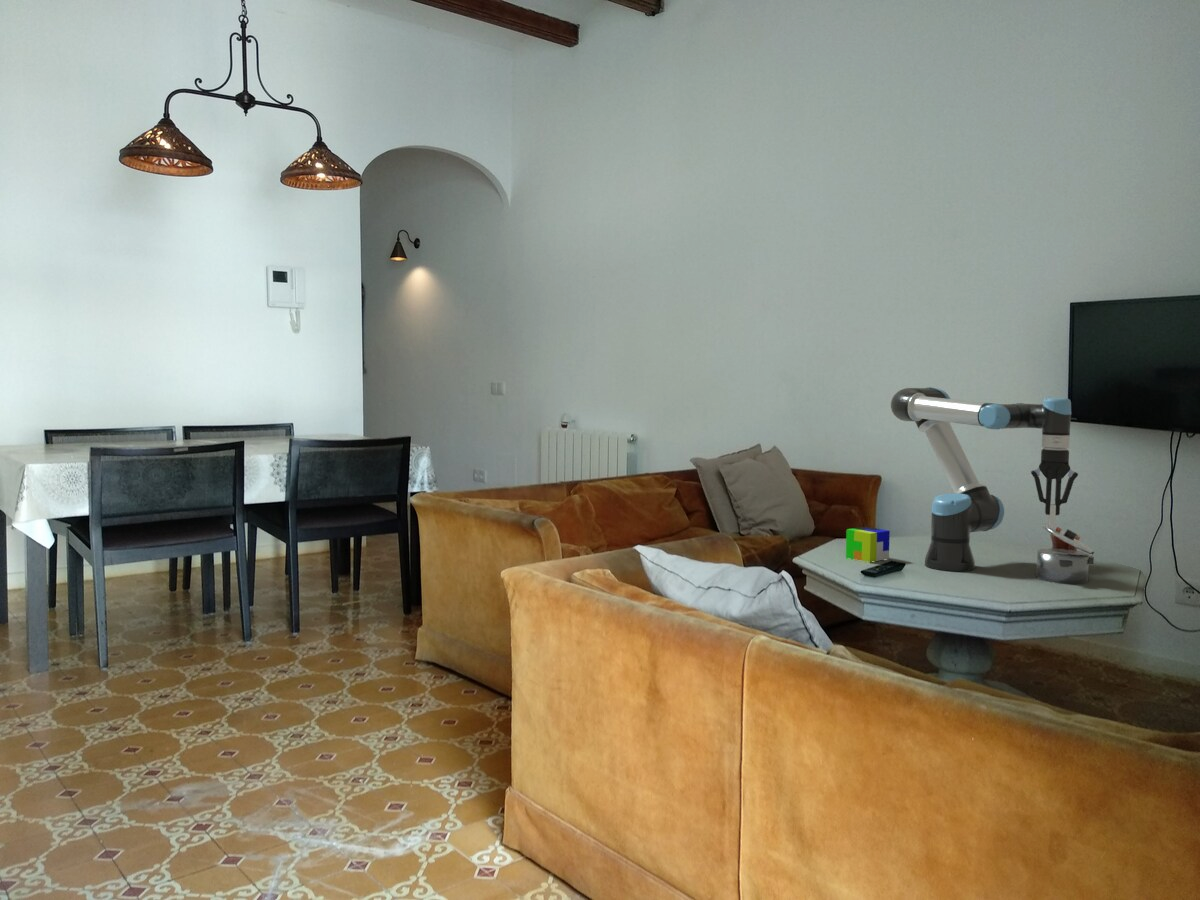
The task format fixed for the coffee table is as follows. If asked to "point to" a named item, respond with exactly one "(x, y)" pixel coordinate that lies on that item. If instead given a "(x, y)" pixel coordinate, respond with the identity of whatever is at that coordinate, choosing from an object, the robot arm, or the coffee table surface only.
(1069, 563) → the pot
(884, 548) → the puzzle toy
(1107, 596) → the coffee table surface
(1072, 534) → the lid
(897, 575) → the coffee table surface
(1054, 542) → the mug
